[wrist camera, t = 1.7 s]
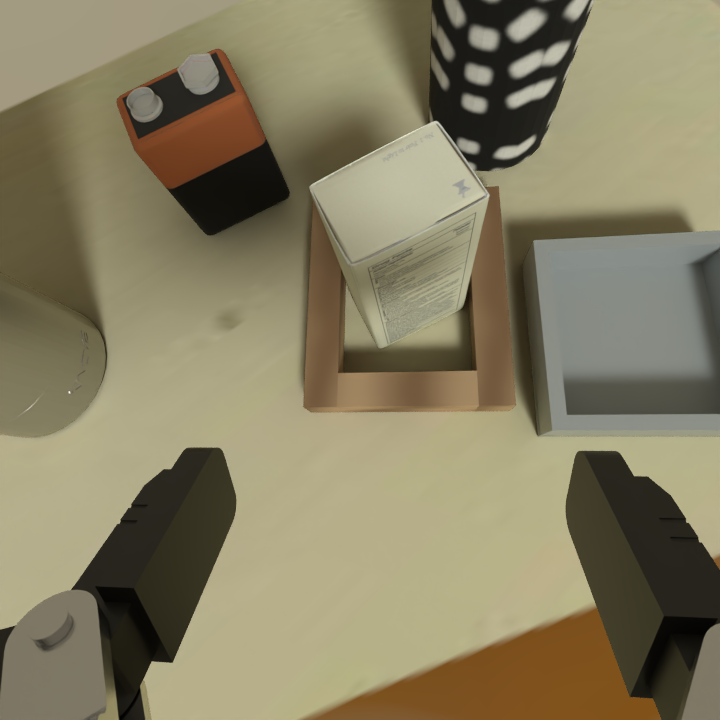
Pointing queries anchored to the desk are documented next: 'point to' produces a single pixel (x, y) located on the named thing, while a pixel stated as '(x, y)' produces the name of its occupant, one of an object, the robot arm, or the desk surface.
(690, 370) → the tray
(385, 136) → the desk surface
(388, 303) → the skincare box
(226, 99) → the battery
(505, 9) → the white-spotted black cylinder
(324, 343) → the brown flat rectangular frame
